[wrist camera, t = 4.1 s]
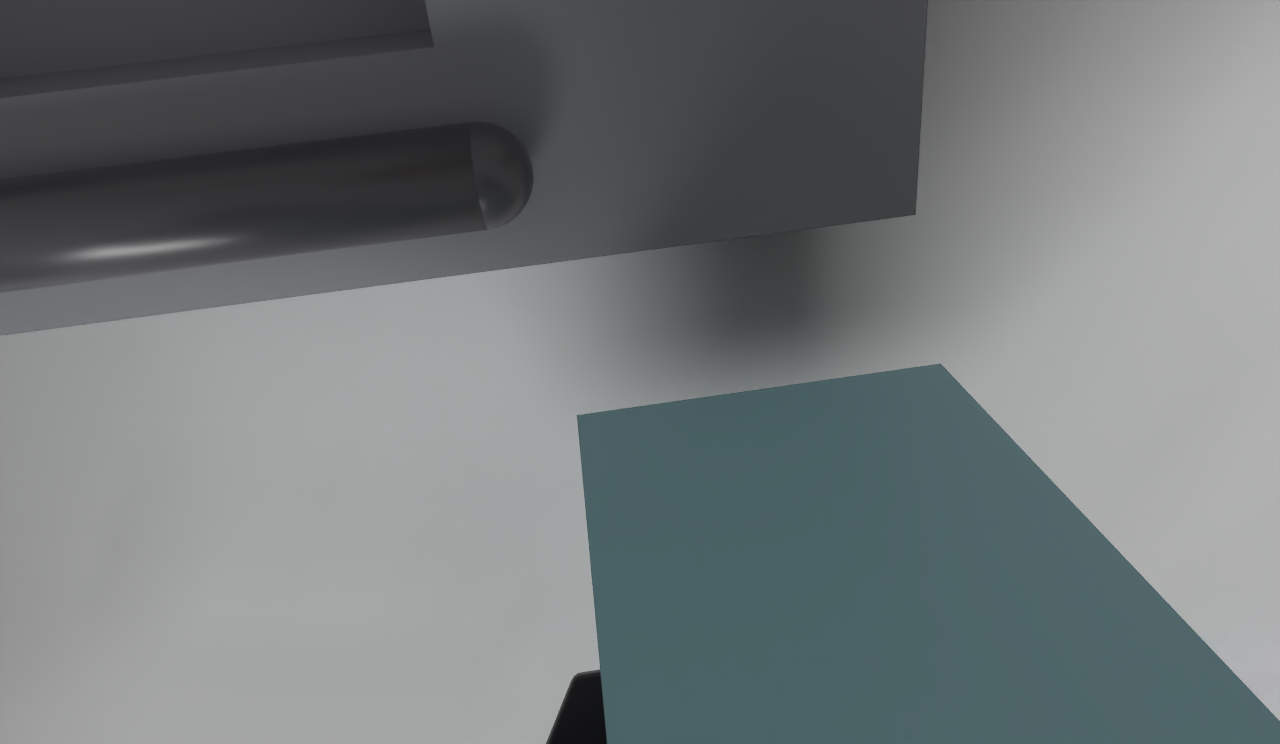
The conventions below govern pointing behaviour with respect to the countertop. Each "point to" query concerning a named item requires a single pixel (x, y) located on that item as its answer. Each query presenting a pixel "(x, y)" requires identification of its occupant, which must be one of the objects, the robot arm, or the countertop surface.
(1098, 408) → the countertop surface
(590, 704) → the robot arm
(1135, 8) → the countertop surface
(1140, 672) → the block
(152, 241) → the outlet plate
